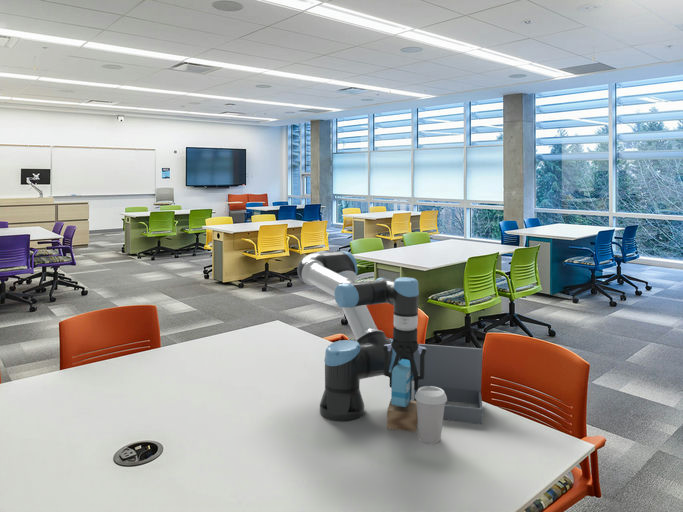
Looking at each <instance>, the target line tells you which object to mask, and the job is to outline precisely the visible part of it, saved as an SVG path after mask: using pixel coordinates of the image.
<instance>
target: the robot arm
mask: <svg viewBox="0 0 683 512" xmlns="http://www.w3.org/2000/svg"><path fill="white" fill-rule="evenodd" d="M296 271H297V276H298V278H299V279H300V281H301V282H303V283H304V284H306V285H308V286H311V287H313V286H315V287H317V288H318V289H320V290H323V291H324V292H326V293H327V294H329V295H331V296H332V297H334V300H335V303H336V304H337V306H338V307H340V308H341V309H342V311H343V313H344V316H345V317H346V320H347V322H348V325H349V327H350V329H351V331H352V333H353V336H354V338H355V340H353V339H347V340H346V339H343V340H338V341H335V342H332V343H330V344H329V345H327V347H326V349H325V353H324V391H323V393H322V397H321V400H320V402H319V413H320V415H321V416H322V417H324V418H326V419H329V420H332V421H337V422H338V421H339V422H347V421H353V420H357V419H359V418H360V417H362V416H363V415H364V413H365V402H364V398H363V396H362V392H361V390H360V380H364V379H367V378H373V377H378V376H385V377H388V378H389V389H390V388H391V389H392V370H393V368H394V367H395V366H396V365H397V364H398V363H399V361H400V357H403V356H405V357H408V358H409V361H410V365H411V369H412V373H413V377H414V378H412V390H411V401H415V399H414V392H415V390H417V389H418V380H420V379H424V355H425V353H426V347H421V346H419V345H418V344H419V343H418V323H419V322H418V321H419V298H420V297H419V296H420V291H419V281H418V280H417V279H416V278H414V277H408V276H407V277H406V276H404V277H402V276H401V277H397V278H395V279H394V280H393V279H390V278H389V277H388V278H387V277H379V278H376V279H375V280H369V281H360V282H358V281H356V280H357V275H358V274H359V273H358V272H359V268H358V261H357V260H356V258H355V256H354V255H353V254H352V253H351V252H349V251H343V250H337V251H328V252H327V251H326V252H325V251H323V252H312V253H309V254H307V255H305V256H304V257H302V258H301V259H300V260H299V263H298V265H297V270H296ZM379 304H389V305H391V306H393V321H392V322H393V326H394V327H393V328H392V338H387V336H386V333H385V332H384V331H383V330H381V329H380V330H379V329H378V327H377V325H376V324H375V321H374V319H373V316H372V314H371V313H370V310H369V308H368V306H371V305H373V306H374V305H379ZM417 349H418V350H419V354H421V355H420V374H418V372H417V368H416V364H415V360H414V353H415V351H416V350H417Z"/></svg>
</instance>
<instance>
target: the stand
mask: <svg viewBox="0 0 683 512" xmlns="http://www.w3.org/2000/svg"><path fill="white" fill-rule="evenodd" d="M386 411H387V413H386V414H387V415H386V417H387V419H386V428H387V429H389V430H398V431H399V430H400V431H408V432H409V431H410V432H414V433H415V432H417V429H418V418H417V402H416V400H414V401H410V402H409V404H408V405H407V406H406V407H400V406H395V405H392V404H391V400H390V401H389V405H388V407H387V410H386Z"/></svg>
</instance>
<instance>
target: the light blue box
mask: <svg viewBox="0 0 683 512" xmlns="http://www.w3.org/2000/svg"><path fill="white" fill-rule="evenodd" d="M415 364H416V362H415ZM412 378H414V377H413V373H412V369H411V365H410V361H409V360H406V359H401V361H400V362H399V363H398V364H397V365H396V366H395V367H394V368H393V370H392V388H391V395H390V396H391V397H390V401H391V404H392V405H395V406H400V407H406V406H407V405H408V404H409V402H410V401H411V390H412ZM414 394H415V392H414Z"/></svg>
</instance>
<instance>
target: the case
mask: <svg viewBox="0 0 683 512" xmlns="http://www.w3.org/2000/svg"><path fill="white" fill-rule="evenodd" d="M418 345H419V346H421V347H426V353H425V355H424V379H420V380H418V389H419V388H420V387H424V386H434V387H438V388H441V389H442V390H444V392H445V394H446V397H447V401H446V402H451V403H459V404H460V403H463V404H472V405H477V407H471V406H463V405H453V404H452V405H451V404H445V407H444V415H443V421H447V422H448V421H449V422H459V423H467V424H477V425H483V413H484V412H483V409H484V407H483V400H482V376H483V375H482V372H483V371H482V370H483V357H484V356H483V353H484V352H483V351H484V349H483V348H481V347H480V348H478V347H465V346H464V347H463V346H451V345H440V344H439V345H438V344H426V343H424V344H423V343H418ZM413 355H414V360H415V362H416V368H417V372H418V374H420V355H421V354H419V350H418V349H417V350H416V351H415V353H414V354H413ZM418 389H417V390H415V394H416V392H417V391H418ZM415 394H414V400H416V399H415Z"/></svg>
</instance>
